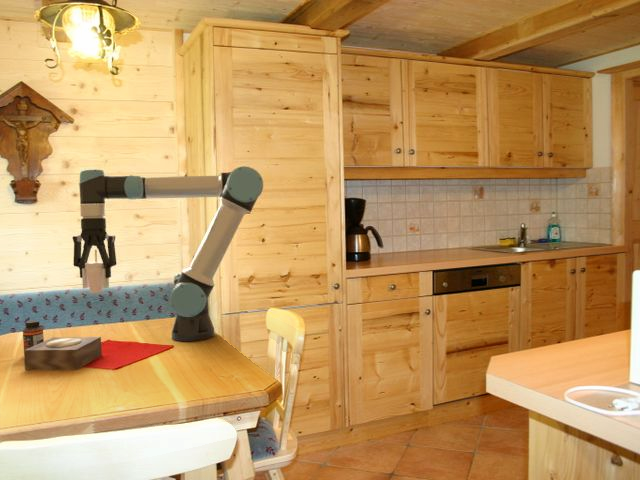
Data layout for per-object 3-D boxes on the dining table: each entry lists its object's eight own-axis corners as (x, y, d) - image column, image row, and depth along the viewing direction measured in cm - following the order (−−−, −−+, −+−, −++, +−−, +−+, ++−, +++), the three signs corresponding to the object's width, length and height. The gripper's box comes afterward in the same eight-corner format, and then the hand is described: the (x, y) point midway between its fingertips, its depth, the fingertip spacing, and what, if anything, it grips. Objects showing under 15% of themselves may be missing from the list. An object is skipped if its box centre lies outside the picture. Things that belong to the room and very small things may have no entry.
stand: (101, 355, 184) (100, 335, 184) (77, 369, 168) (75, 348, 168) (54, 355, 185) (52, 336, 185) (25, 370, 169) (23, 349, 169)
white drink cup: (92, 294, 183) (90, 250, 182) (81, 292, 187) (80, 249, 186) (110, 291, 188) (109, 249, 187) (99, 290, 192) (98, 248, 191)
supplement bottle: (20, 356, 185) (17, 322, 184) (36, 352, 190) (34, 318, 190) (32, 358, 182) (29, 323, 182) (48, 354, 188) (46, 320, 187)
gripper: (126, 216, 188) (128, 286, 190) (71, 217, 190) (74, 286, 192) (116, 217, 181) (118, 289, 182) (58, 218, 183) (61, 289, 184)
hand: (95, 287), depth 187 cm, fingers closed on white drink cup, 6 cm apart
